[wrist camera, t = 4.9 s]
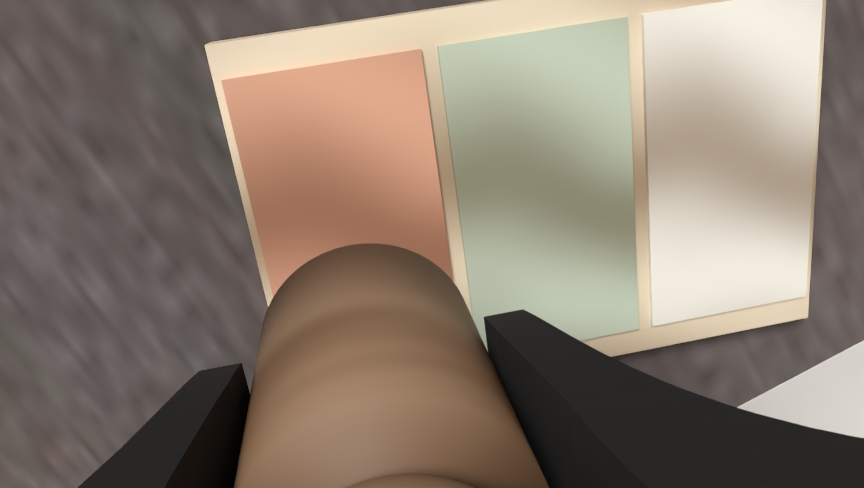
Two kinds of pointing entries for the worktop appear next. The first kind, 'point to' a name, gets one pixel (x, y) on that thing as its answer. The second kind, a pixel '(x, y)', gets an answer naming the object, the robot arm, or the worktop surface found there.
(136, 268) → the worktop surface
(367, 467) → the pawn
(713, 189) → the board
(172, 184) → the worktop surface
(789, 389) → the die
